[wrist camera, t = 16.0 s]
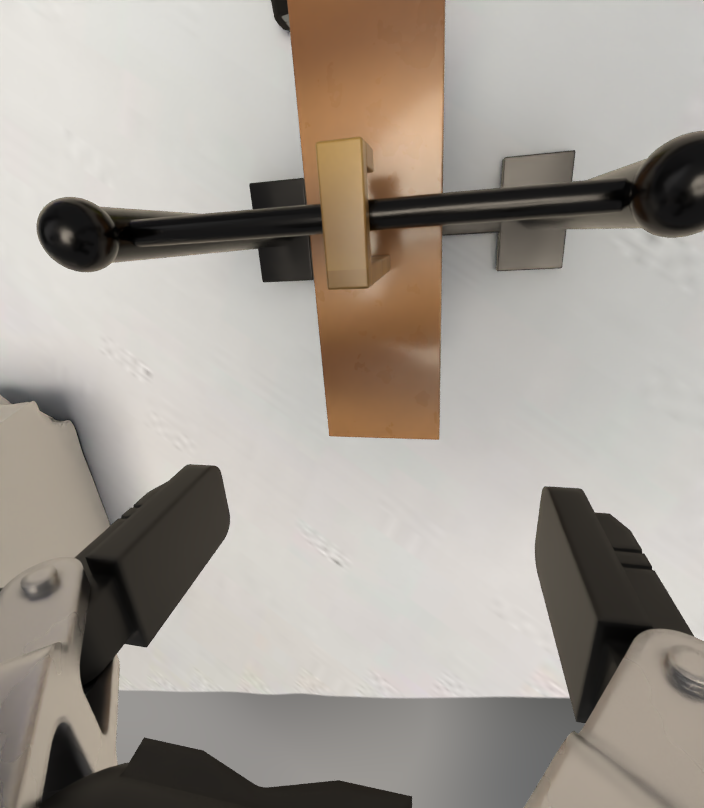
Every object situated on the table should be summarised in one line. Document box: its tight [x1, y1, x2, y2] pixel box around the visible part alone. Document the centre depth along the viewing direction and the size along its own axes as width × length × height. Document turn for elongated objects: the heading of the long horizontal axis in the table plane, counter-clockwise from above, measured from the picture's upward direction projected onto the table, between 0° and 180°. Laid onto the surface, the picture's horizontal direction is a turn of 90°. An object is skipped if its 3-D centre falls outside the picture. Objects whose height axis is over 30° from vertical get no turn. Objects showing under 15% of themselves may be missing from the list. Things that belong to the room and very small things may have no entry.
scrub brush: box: [287, 0, 445, 440], centre depth 16 cm, size 18×5×11 cm, turn 3°
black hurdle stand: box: [37, 131, 704, 282], centre depth 18 cm, size 6×19×18 cm, turn 94°
